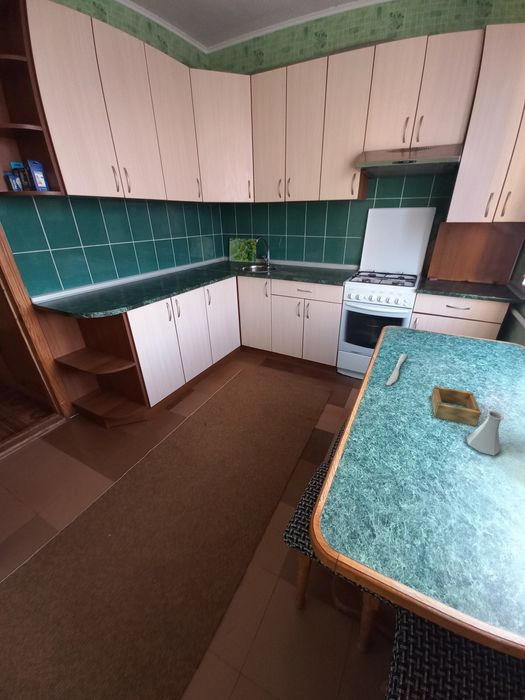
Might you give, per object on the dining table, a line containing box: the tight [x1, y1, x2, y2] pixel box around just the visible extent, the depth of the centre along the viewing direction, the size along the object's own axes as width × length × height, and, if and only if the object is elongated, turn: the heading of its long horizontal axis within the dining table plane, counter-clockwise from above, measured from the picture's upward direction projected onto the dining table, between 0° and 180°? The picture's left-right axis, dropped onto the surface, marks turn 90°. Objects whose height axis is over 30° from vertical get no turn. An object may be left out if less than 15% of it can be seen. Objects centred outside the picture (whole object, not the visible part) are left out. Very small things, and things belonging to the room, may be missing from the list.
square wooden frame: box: [430, 385, 482, 426], centre depth 87 cm, size 10×10×4 cm
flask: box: [466, 410, 505, 456], centre depth 73 cm, size 7×7×10 cm
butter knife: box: [385, 353, 408, 386], centre depth 109 cm, size 1×27×3 cm
